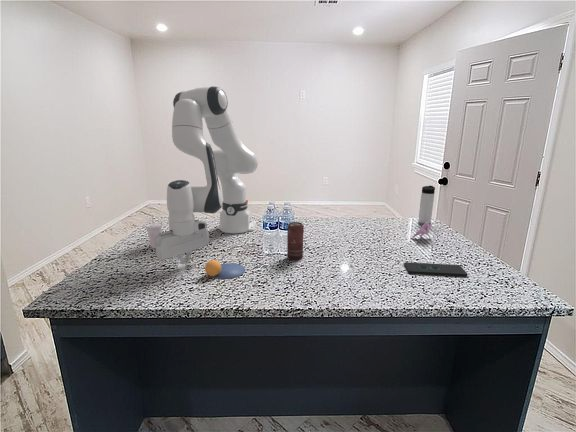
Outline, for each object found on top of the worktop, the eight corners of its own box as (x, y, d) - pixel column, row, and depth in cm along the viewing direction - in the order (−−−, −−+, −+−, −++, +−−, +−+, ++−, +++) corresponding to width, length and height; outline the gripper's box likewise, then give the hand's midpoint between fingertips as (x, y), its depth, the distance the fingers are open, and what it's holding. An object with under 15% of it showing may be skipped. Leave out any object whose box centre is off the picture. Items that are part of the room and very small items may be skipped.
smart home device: (403, 261, 128) (459, 264, 125) (403, 265, 128) (458, 268, 126) (408, 270, 120) (468, 274, 117) (408, 275, 120) (467, 278, 118)
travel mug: (432, 223, 181) (437, 186, 176) (427, 225, 176) (432, 188, 171) (421, 220, 185) (425, 184, 180) (416, 223, 181) (420, 186, 175)
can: (302, 261, 130) (302, 226, 126) (285, 260, 131) (286, 225, 127) (304, 255, 136) (305, 222, 132) (289, 254, 137) (289, 221, 133)
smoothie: (146, 249, 140) (142, 217, 136) (149, 244, 146) (146, 213, 142) (162, 249, 141) (159, 216, 137) (165, 243, 147) (162, 212, 143)
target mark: (216, 262, 128) (216, 261, 128) (249, 265, 126) (249, 264, 126) (202, 277, 116) (202, 276, 116) (238, 280, 114) (238, 280, 114)
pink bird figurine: (435, 239, 160) (427, 220, 161) (448, 237, 148) (439, 216, 149) (412, 247, 159) (404, 228, 160) (423, 246, 147) (414, 226, 148)
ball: (213, 276, 120) (206, 262, 120) (226, 270, 119) (219, 255, 119) (206, 280, 115) (199, 266, 115) (219, 274, 113) (212, 259, 113)
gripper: (160, 236, 110) (164, 275, 114) (210, 222, 125) (212, 257, 129) (150, 232, 114) (154, 270, 117) (200, 219, 129) (202, 253, 133)
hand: (185, 263), depth 123 cm, fingers closed
